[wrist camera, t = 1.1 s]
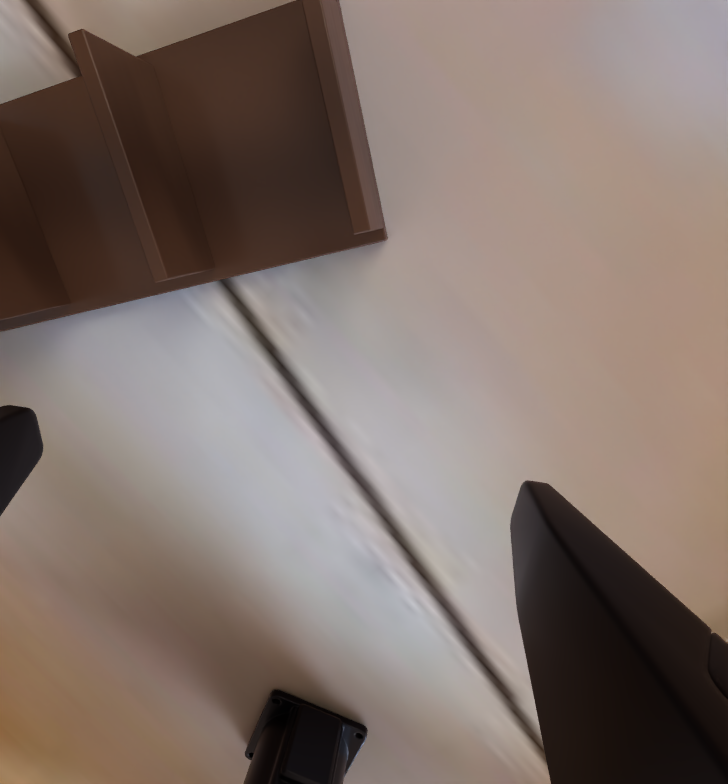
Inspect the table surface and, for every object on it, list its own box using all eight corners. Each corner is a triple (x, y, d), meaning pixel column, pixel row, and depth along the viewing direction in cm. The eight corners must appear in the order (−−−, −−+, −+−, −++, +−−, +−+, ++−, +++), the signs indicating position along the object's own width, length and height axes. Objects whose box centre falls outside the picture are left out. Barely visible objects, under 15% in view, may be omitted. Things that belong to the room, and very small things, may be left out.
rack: (388, 239, 21) (374, 246, 17) (-46, 342, 26) (-152, 369, 21) (338, -5, 19) (304, -79, 14) (-135, 159, 23) (-278, 145, 19)
